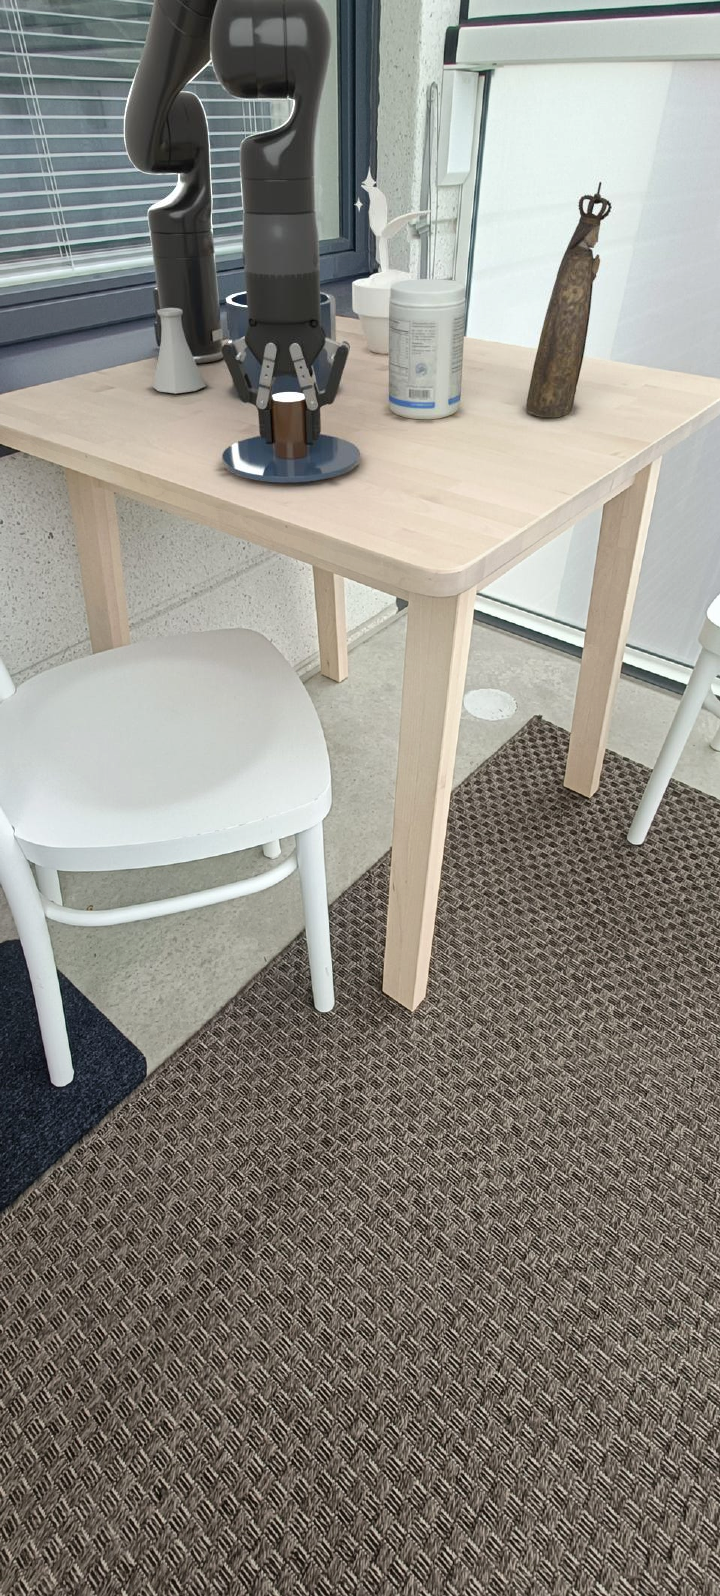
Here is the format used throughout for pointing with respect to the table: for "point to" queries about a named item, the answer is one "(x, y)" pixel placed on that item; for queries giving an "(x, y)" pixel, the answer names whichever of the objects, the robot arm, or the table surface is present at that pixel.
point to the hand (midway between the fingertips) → (290, 441)
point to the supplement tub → (426, 347)
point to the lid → (290, 448)
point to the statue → (567, 319)
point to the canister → (236, 330)
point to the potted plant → (375, 290)
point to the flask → (175, 357)
